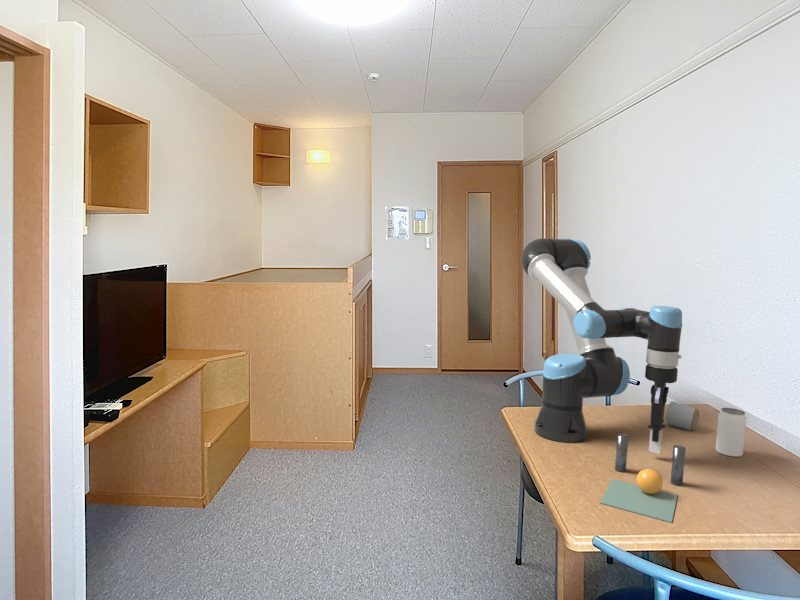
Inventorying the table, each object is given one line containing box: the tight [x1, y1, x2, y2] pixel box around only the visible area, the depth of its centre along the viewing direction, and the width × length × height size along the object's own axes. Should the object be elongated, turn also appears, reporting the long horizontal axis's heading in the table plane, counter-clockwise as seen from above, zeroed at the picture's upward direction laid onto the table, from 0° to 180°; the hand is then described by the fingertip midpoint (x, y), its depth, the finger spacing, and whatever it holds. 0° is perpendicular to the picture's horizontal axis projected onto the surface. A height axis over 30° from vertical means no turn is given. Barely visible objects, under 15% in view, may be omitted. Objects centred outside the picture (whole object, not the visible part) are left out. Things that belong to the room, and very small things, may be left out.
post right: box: [670, 444, 687, 487], centre depth 123 cm, size 3×3×9 cm
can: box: [715, 407, 747, 458], centre depth 143 cm, size 6×6×12 cm
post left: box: [614, 433, 630, 473], centre depth 130 cm, size 3×3×9 cm
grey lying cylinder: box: [665, 400, 700, 431], centre depth 164 cm, size 11×8×8 cm
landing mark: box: [600, 478, 678, 524], centre depth 116 cm, size 14×14×1 cm
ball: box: [636, 468, 664, 494], centre depth 118 cm, size 6×6×6 cm
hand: (654, 451), depth 138 cm, fingers closed
